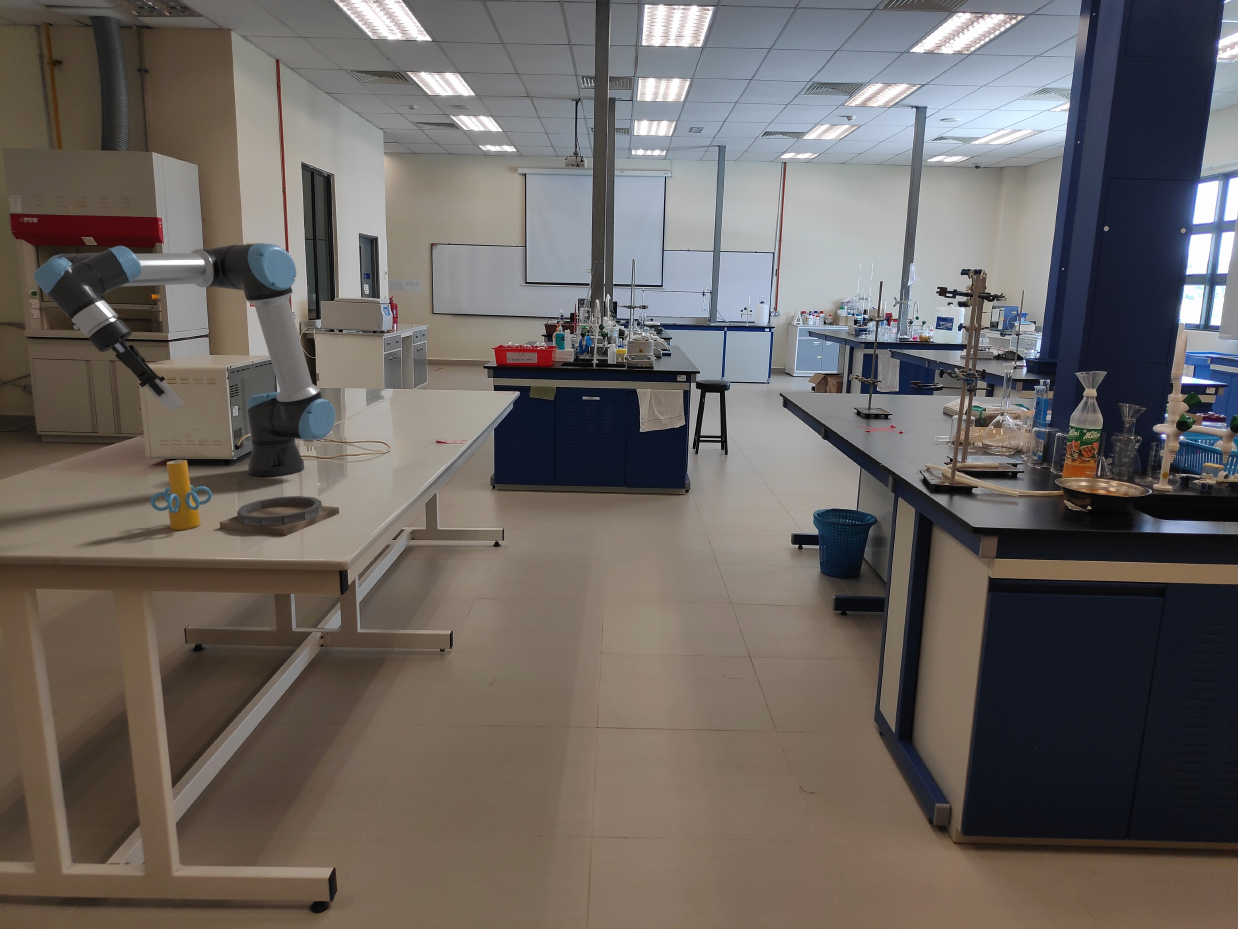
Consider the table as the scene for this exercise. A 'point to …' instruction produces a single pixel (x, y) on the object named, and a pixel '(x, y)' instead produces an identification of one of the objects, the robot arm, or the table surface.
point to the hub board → (279, 527)
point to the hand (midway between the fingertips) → (176, 407)
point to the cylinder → (181, 497)
